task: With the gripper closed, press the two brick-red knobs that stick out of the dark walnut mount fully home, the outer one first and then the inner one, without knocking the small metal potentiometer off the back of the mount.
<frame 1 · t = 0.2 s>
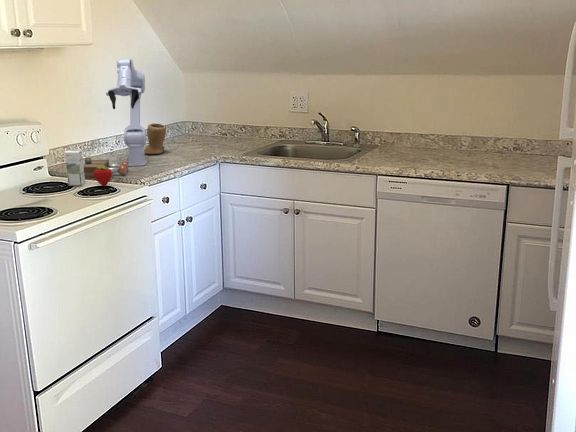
hand: (123, 107, 269), 30 cm above the worktop, tool tilted 45°, fingers open, 7 cm apart
outer knob: (112, 170, 282), point 3 cm above the worktop, slide at 6.0 cm
brown boot: (156, 153, 331), on the worktop
strawberry: (104, 186, 265), on the worktop
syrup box: (77, 184, 269), on the worktop
inner knob: (114, 166, 289), point 3 cm above the worktop, slide at 6.0 cm
potentiometer: (88, 163, 284), point 5 cm above the worktop, touching mount
mount: (96, 174, 285), on the worktop
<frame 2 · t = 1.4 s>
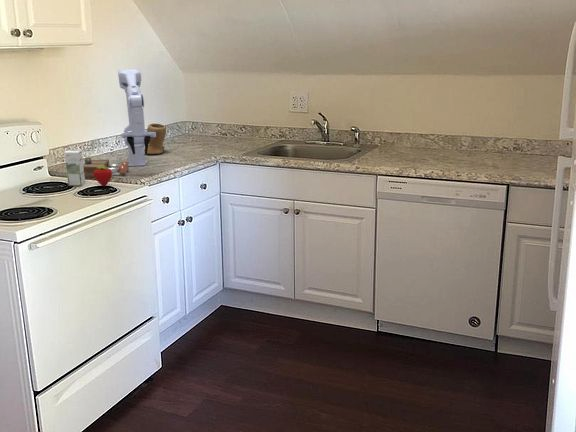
hand: (140, 153, 281), 9 cm above the worktop, tool pointing down, fingers open, 5 cm apart
nothing on the worktop moved.
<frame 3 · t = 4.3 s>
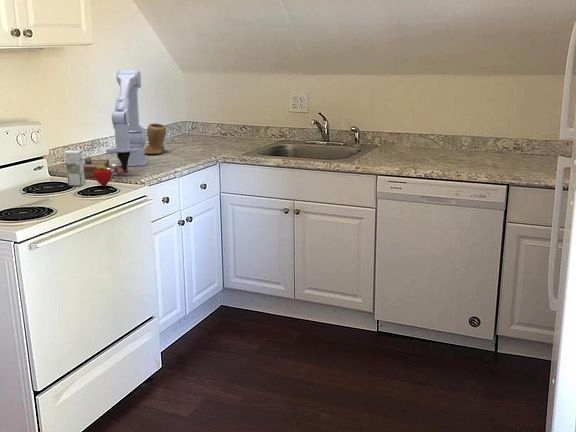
hand: (125, 169, 282), 3 cm above the worktop, tool pointing down, fingers closed
outer knob: (109, 170, 282), point 3 cm above the worktop, slide at 4.7 cm, touching gripper
everything else where it was.
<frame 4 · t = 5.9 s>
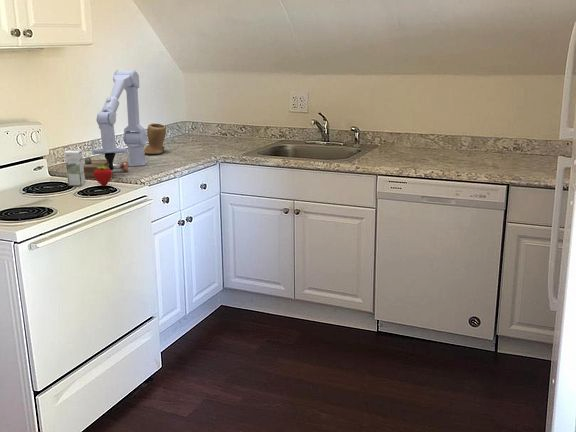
hand: (111, 169, 282), 3 cm above the worktop, tool pointing down, fingers closed, pressing on outer knob
outer knob: (97, 170, 281), point 3 cm above the worktop, slide at -0.5 cm, touching gripper
everything else where it was.
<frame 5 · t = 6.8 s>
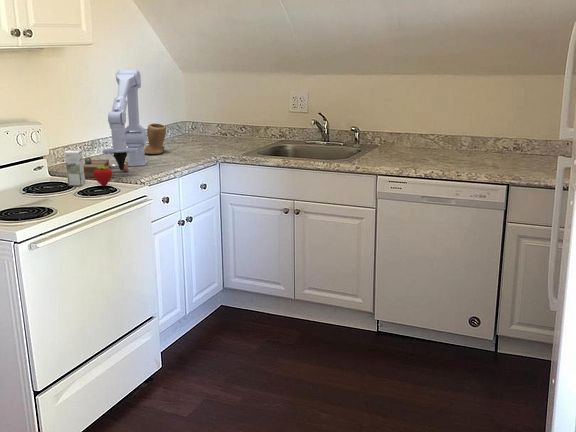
hand: (121, 169, 282), 3 cm above the worktop, tool pointing down, fingers closed
outer knob: (98, 170, 282), point 3 cm above the worktop, slide at -0.1 cm
everything else where it was.
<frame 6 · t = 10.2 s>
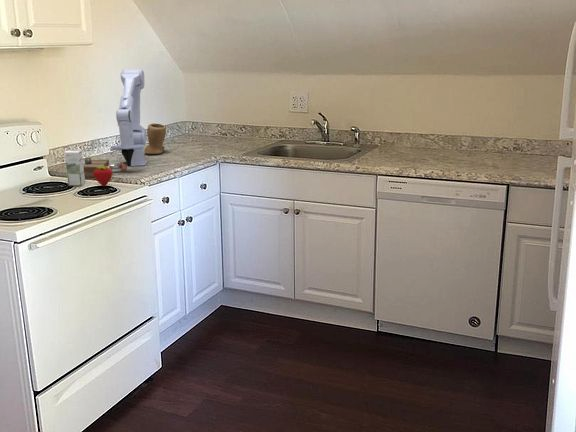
hand: (129, 165, 289), 3 cm above the worktop, tool pointing down, fingers closed
inner knob: (113, 166, 289), point 3 cm above the worktop, slide at 5.4 cm, touching gripper
everything else where it was.
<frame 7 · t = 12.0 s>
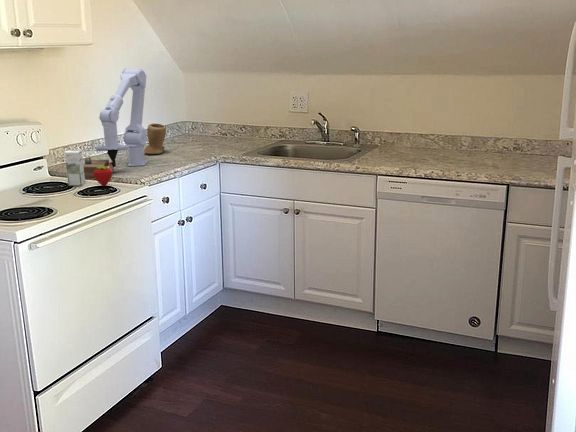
hand: (114, 166, 289), 3 cm above the worktop, tool pointing down, fingers closed, pressing on inner knob
inner knob: (100, 167, 288), point 3 cm above the worktop, slide at -0.6 cm, touching gripper
everything else where it was.
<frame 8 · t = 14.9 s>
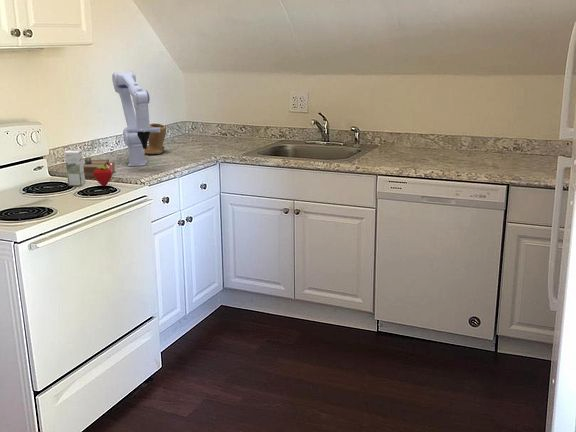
hand: (145, 148, 289), 10 cm above the worktop, tool pointing down, fingers closed
inner knob: (101, 167, 288), point 3 cm above the worktop, slide at -0.1 cm
everything else where it was.
at the end: outer knob slide at -0.1 cm; inner knob slide at -0.1 cm; potentiometer moved 0.0 cm from its start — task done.
